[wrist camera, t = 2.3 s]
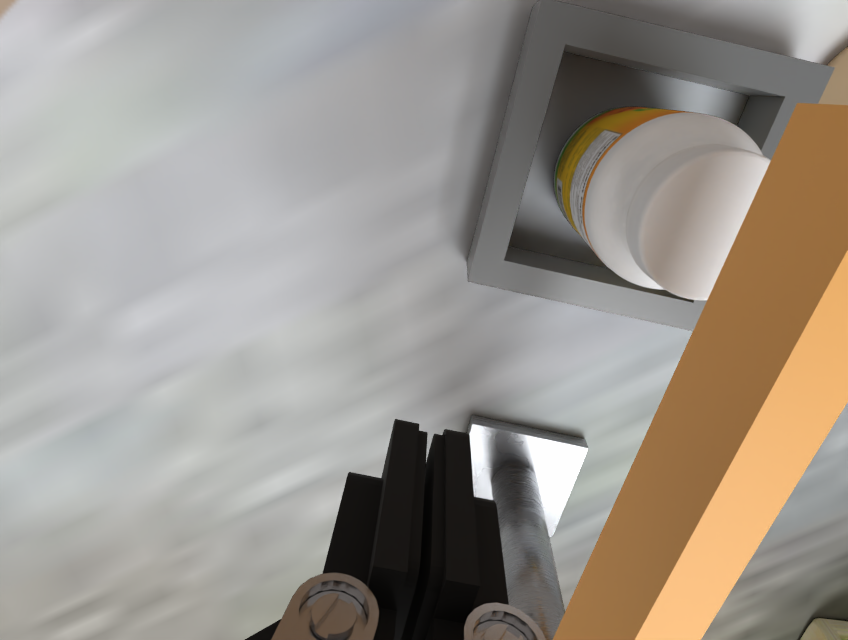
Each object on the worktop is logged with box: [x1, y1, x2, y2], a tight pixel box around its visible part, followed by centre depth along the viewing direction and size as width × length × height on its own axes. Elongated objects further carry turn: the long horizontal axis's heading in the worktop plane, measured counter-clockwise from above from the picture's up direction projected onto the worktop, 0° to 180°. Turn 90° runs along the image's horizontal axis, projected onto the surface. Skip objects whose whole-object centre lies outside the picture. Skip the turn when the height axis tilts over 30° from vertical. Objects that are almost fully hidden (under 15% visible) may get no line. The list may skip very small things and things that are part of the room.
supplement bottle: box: [554, 107, 771, 301], centre depth 18 cm, size 5×5×10 cm
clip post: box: [467, 415, 588, 640], centre depth 24 cm, size 6×6×12 cm
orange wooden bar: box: [553, 103, 848, 640], centre depth 13 cm, size 21×3×3 cm, turn 168°
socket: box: [467, 0, 835, 331], centre depth 22 cm, size 10×10×2 cm
